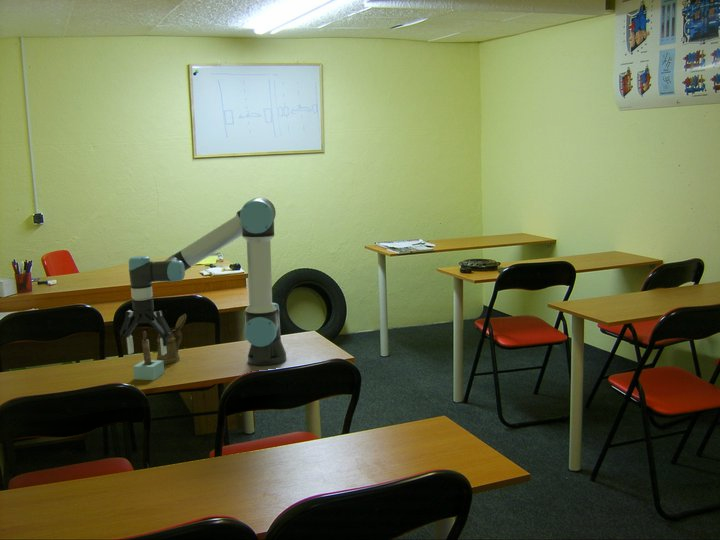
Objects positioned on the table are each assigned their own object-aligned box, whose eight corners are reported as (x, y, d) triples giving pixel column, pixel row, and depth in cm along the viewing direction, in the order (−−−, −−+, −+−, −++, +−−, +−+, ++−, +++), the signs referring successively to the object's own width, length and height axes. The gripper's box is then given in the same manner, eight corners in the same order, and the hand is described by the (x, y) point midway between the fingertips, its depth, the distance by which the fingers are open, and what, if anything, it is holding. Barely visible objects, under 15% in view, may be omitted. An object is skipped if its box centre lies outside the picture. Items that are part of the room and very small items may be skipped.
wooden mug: (193, 358, 282) (190, 315, 279) (160, 365, 274) (157, 321, 271) (185, 353, 289) (182, 311, 286) (153, 360, 282) (149, 317, 278)
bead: (164, 373, 264) (163, 360, 263) (154, 380, 257) (152, 367, 256) (145, 372, 266) (144, 359, 265) (134, 379, 258) (133, 366, 257)
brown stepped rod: (153, 375, 262) (148, 330, 259) (150, 377, 260) (145, 332, 257) (148, 375, 263) (142, 330, 260) (144, 377, 260) (139, 332, 258)
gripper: (178, 296, 257) (182, 351, 261) (117, 295, 262) (122, 350, 266) (168, 300, 250) (173, 357, 253) (106, 300, 255) (112, 355, 259)
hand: (147, 353), depth 260 cm, fingers open, 13 cm apart
